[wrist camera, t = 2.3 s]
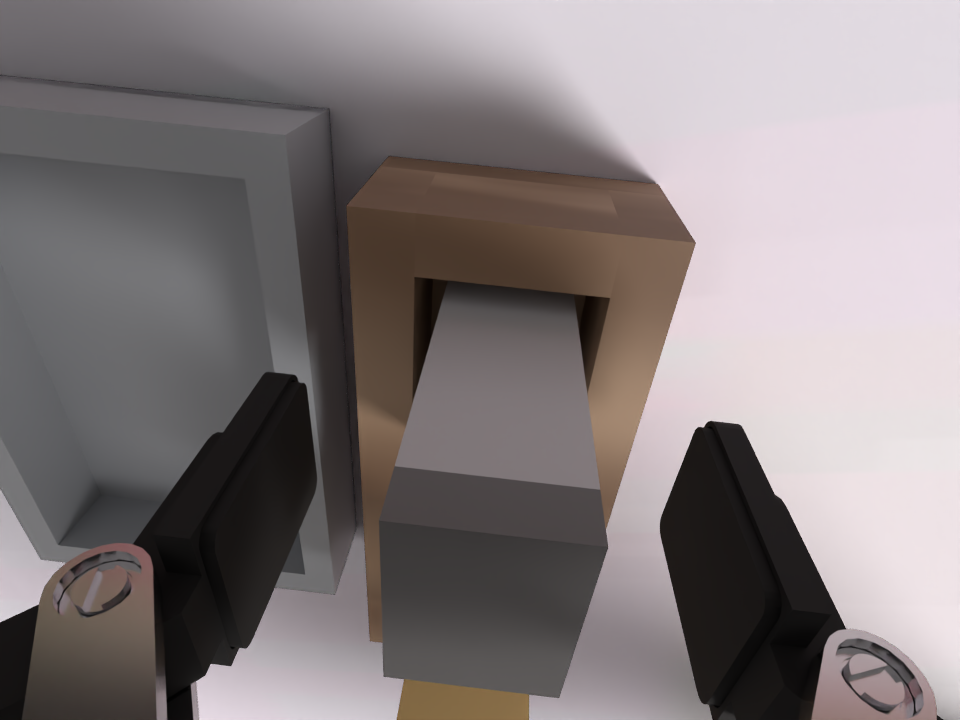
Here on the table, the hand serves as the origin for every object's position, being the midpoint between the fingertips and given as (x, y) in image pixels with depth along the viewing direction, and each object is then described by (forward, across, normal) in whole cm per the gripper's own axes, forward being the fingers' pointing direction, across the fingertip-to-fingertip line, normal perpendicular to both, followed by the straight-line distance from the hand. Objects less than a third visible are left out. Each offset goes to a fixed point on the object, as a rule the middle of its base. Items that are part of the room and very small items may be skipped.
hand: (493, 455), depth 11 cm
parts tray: (+6, +10, +3) cm, 13 cm away
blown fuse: (+5, 0, 0) cm, 5 cm away
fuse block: (+6, 0, +4) cm, 8 cm away
